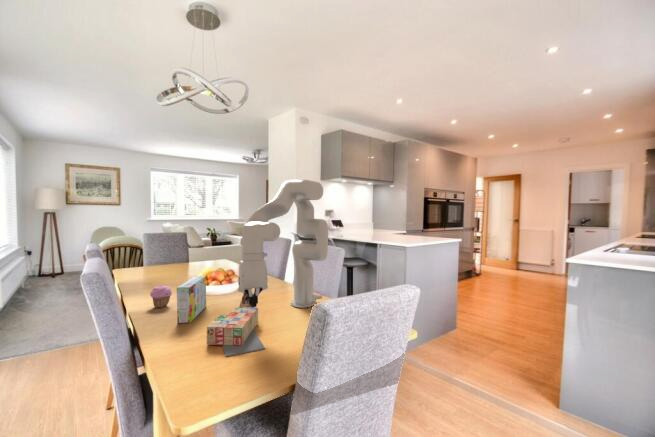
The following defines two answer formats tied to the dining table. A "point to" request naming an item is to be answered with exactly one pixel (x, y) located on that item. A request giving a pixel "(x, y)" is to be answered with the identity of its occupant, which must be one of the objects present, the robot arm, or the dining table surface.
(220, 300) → the dining table surface
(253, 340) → the mat
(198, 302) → the snack box
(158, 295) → the cupcake
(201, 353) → the dining table surface
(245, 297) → the figurine
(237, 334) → the stack of blocks
